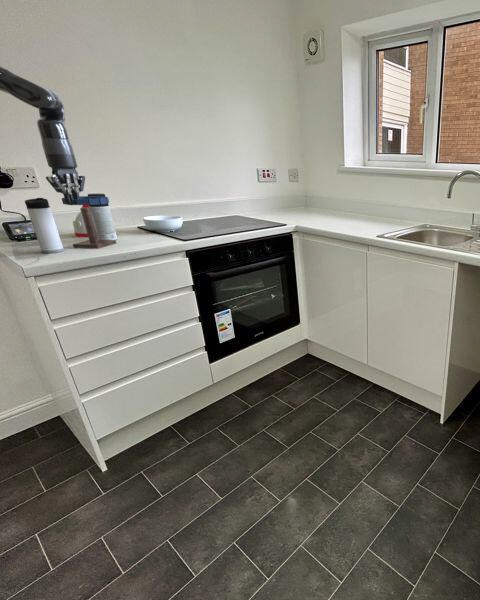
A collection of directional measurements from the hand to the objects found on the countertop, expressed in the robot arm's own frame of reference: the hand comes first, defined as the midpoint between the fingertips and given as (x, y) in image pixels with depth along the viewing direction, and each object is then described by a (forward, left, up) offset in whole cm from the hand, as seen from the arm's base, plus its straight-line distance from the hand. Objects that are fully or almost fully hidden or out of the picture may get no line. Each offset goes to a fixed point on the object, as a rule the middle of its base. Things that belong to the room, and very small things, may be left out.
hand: (74, 204), depth 127 cm
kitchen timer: (+38, +28, -19) cm, 51 cm away
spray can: (+27, +13, -19) cm, 35 cm away
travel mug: (+4, +17, -19) cm, 26 cm away
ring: (+6, 0, 0) cm, 6 cm away
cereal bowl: (+51, +2, -19) cm, 54 cm away
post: (+16, +10, -19) cm, 26 cm away
